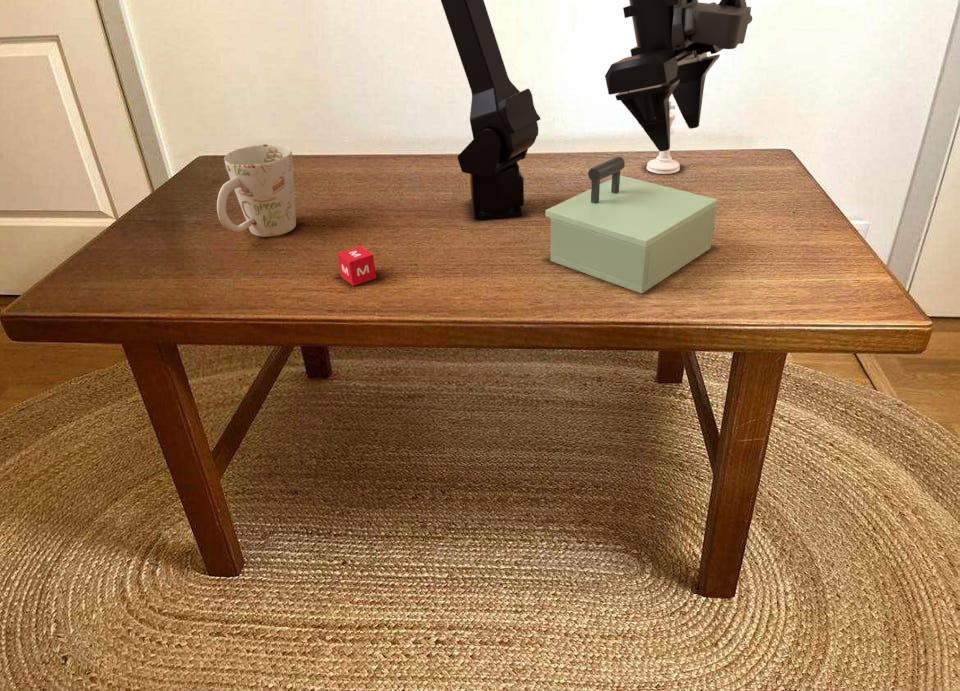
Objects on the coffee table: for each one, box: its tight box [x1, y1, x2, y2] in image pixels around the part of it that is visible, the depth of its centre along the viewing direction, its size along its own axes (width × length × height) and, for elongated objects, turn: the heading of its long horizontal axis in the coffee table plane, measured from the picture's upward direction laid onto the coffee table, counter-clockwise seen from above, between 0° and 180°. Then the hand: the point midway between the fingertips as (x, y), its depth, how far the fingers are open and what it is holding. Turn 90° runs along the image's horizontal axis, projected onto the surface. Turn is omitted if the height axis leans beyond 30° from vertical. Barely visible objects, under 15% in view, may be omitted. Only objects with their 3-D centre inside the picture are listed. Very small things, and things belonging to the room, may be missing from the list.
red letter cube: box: [337, 245, 377, 287], centre depth 83 cm, size 3×3×3 cm
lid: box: [545, 156, 718, 248], centre depth 82 cm, size 13×15×5 cm
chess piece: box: [646, 100, 681, 175], centre depth 107 cm, size 5×5×10 cm
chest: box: [549, 206, 717, 295], centre depth 84 cm, size 13×15×5 cm
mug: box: [216, 143, 297, 238], centre depth 92 cm, size 8×13×10 cm, turn 155°
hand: (680, 138), depth 80 cm, fingers open, 9 cm apart
